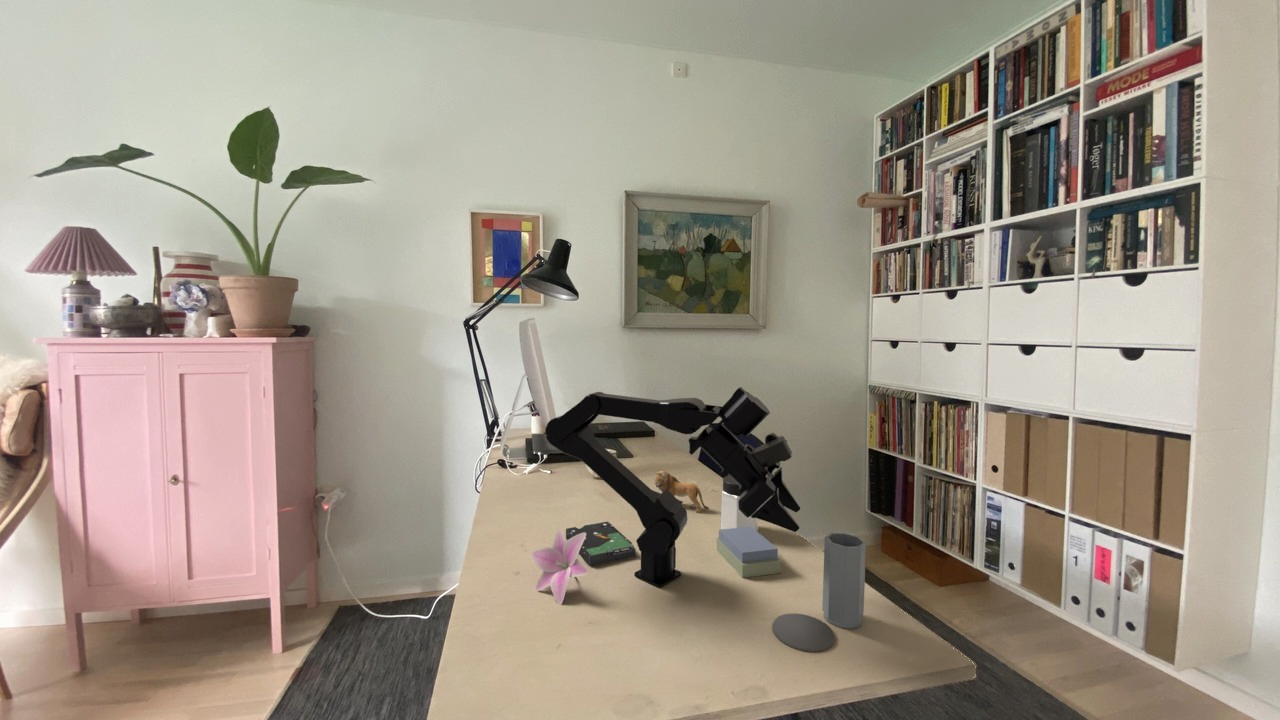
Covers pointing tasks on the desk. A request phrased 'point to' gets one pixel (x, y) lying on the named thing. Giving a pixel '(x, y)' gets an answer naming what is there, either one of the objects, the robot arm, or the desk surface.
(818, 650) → the coaster
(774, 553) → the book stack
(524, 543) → the desk surface
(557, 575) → the lily
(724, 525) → the jar
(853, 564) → the pen cup
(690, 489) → the lion figurine
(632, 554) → the disk drive
